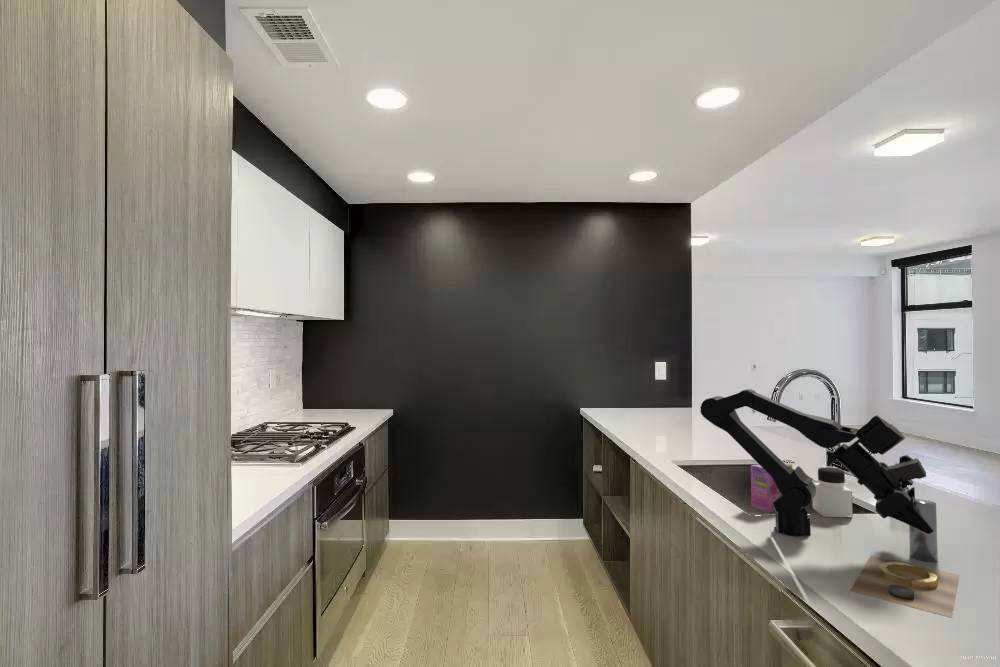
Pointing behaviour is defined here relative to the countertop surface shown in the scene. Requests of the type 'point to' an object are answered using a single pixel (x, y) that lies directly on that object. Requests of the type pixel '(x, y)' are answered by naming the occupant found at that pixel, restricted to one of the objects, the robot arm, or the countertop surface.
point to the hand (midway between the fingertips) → (931, 529)
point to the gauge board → (908, 588)
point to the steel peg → (921, 542)
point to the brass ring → (914, 583)
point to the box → (763, 489)
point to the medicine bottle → (832, 494)
